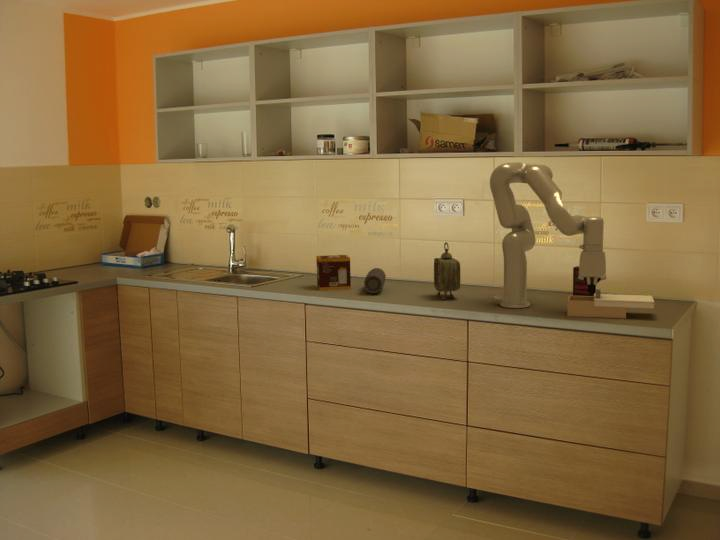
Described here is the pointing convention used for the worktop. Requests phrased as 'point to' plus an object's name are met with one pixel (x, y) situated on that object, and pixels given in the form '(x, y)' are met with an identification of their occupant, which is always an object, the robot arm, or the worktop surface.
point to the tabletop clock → (446, 273)
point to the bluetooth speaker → (374, 280)
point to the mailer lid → (623, 300)
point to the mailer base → (592, 308)
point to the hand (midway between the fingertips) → (591, 293)
